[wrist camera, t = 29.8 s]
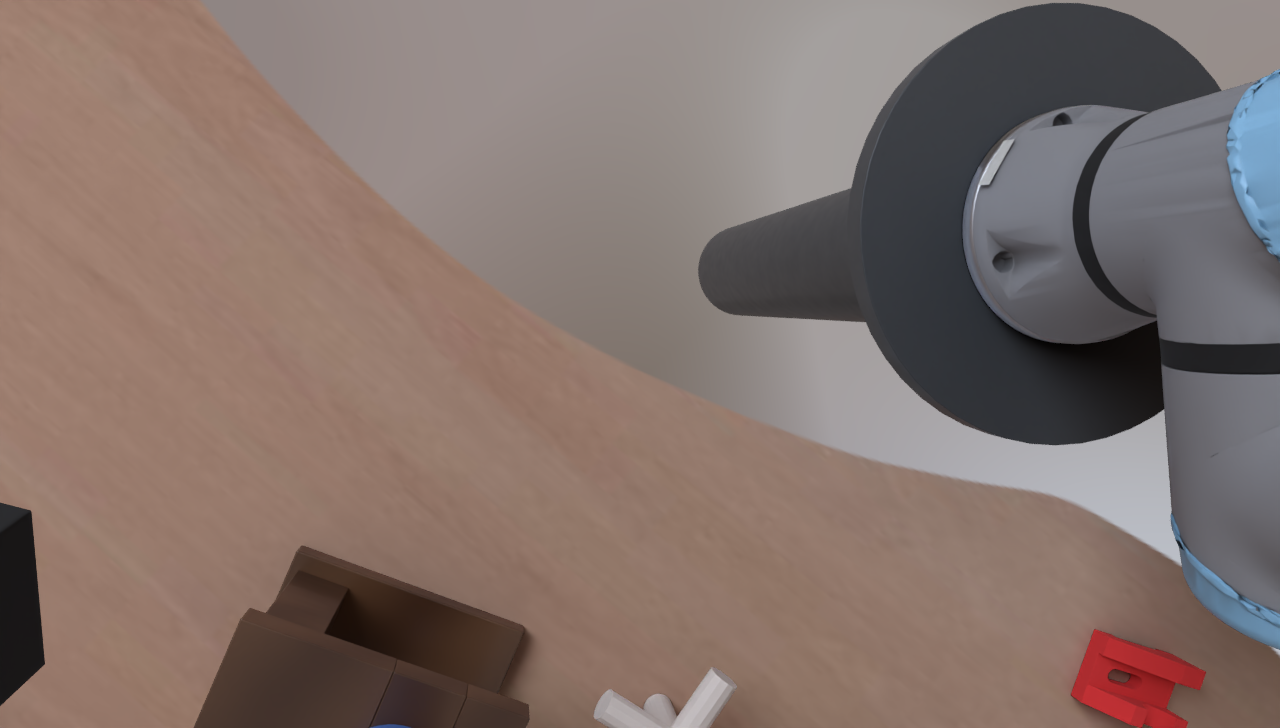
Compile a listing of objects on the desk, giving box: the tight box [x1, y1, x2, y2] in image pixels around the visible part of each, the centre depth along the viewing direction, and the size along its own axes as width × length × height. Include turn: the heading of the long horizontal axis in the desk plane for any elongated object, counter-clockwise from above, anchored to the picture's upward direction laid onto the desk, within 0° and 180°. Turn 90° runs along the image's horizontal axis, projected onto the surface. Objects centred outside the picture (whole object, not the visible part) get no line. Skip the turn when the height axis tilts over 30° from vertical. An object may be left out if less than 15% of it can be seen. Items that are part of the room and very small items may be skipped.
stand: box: [194, 546, 530, 728], centre depth 46 cm, size 14×10×12 cm
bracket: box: [1071, 629, 1206, 728], centre depth 58 cm, size 6×5×3 cm
